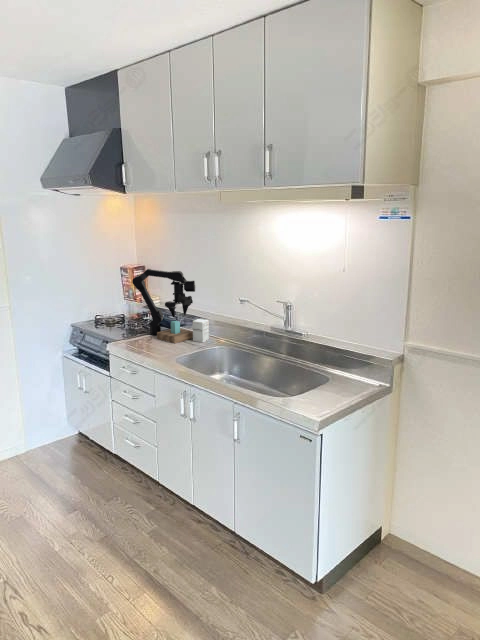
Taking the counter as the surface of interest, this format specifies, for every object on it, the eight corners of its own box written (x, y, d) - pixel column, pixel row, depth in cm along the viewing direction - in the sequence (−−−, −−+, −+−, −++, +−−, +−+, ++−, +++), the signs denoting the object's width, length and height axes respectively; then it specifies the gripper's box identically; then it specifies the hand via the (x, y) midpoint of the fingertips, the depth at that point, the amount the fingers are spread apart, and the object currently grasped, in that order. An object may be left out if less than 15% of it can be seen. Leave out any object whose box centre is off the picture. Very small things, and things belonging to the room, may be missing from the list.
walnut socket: (157, 338, 294) (157, 332, 294) (176, 333, 306) (176, 327, 305) (174, 343, 284) (174, 337, 283) (194, 338, 296) (194, 331, 295)
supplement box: (192, 341, 289) (192, 320, 286) (199, 338, 296) (198, 318, 293) (202, 342, 286) (202, 322, 283) (209, 339, 292) (209, 319, 289)
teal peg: (171, 337, 295) (170, 321, 293) (175, 336, 298) (175, 320, 296) (175, 338, 292) (174, 322, 290) (180, 337, 295) (179, 321, 293)
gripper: (176, 295, 286) (176, 320, 290) (198, 291, 300) (199, 315, 303) (163, 293, 293) (164, 317, 297) (186, 289, 307) (186, 313, 310)
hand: (179, 316), depth 302 cm, fingers open, 9 cm apart
